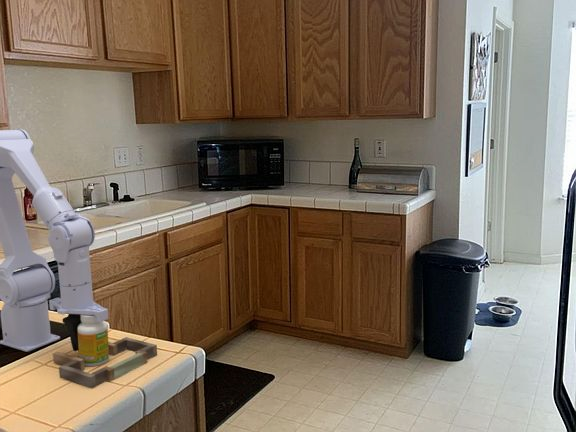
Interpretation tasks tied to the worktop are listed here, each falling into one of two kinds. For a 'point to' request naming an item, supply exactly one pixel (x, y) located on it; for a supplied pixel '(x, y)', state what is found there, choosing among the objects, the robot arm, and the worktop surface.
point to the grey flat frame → (75, 365)
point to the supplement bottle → (93, 340)
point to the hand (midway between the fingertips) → (81, 349)
